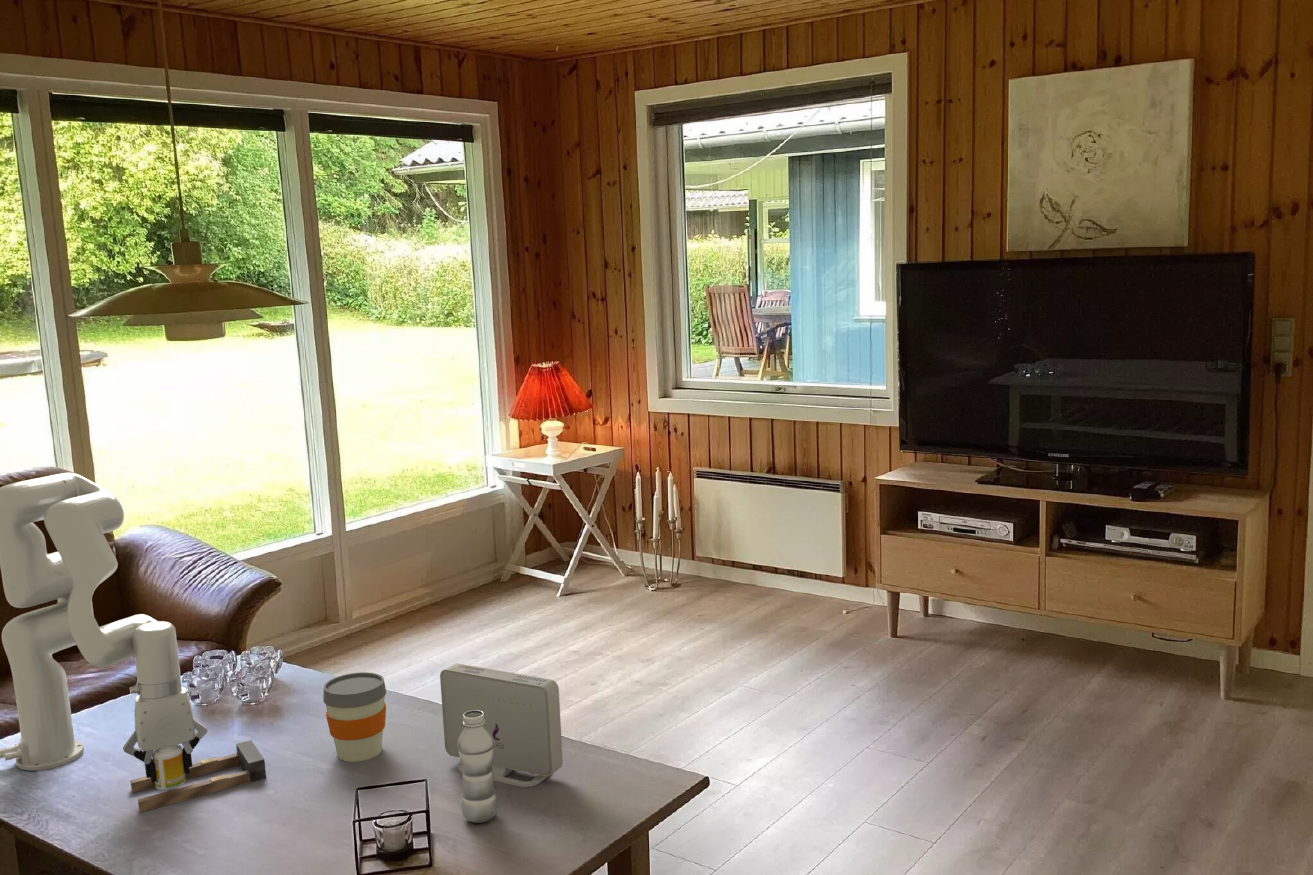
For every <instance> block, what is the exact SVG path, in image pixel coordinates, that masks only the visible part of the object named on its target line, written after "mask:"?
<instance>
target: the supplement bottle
mask: <svg viewBox="0 0 1313 875" xmlns="http://www.w3.org/2000/svg"><path fill="white" fill-rule="evenodd" d="M182 749H183V746H181V744H177V745H173V746H169V747H165V748H160V749H156V750H153V754H152V759H153V762H154V767H155V775H156V781H155V784H156V787H155V788H156V789H157V790H159V791H171V790H175V789H178V788H181V787H182V786H183V785H185V783H186V780H187V779H185V769H184V761H183V751H182Z"/></svg>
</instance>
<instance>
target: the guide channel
mask: <svg viewBox="0 0 1313 875" xmlns="http://www.w3.org/2000/svg"><path fill="white" fill-rule="evenodd" d="M235 745H236V746H235V747H236V753H232V754H229V755H225V756H224V755H223V756H220V757H217V756H214V757H210V758H207V759H202V760H200V762H197V763H194V764H193V763H192V767H189V770H190V774H186V773H185V779H186V780H187V779H191V778H195V777H199V776H203V775H206V774H209V773H211V774H212V773H214V772H218V771H222V770H225V769H229V768H232V767H237V766H240V768H241V769H242V771H240V772H235V773H232V774H222V775H218V776H214V777H210V778H209V780H206V781H201V782H198V783H194V784H191V785H186V786H183V787H182V786H181V787H178V788H175V789H171V790H166V791H165V792H160V793H157V794H153V795H148V796H144V797H142V798H137V805H138V806H137V807H138V810H139V813H142V812H146V811H151V810H154V809H158V808H162V807H164V806H168V805H172V804H176V803H179V802H183V801H187V800H190V799H195V798H198V797H201V796H205V795H209V794H214V793H217V792H220V791H225V790H228V789H231V788H235V787H239V786H243V785H247V784H250V783H254V782H257V781H261V780H265V779H267V773H266V772H267V771H266V763H265V762H266V761H265V758H264V756H263V755H262V754H261V752H260V750H259V749H258V747H257V746H256V745H255V743H254V742H253V741H252V740H251V739H250V740H246V741H243V742H238V743H236V744H235ZM130 788H131V793H132V794H133V793H137V792H142V791H145V790H149V789H154V788H156V784H155V782H154V783H152V781H151V779H150V778H147V777H146V776H142V777H139V778H138V777H137V778H133V779H131V780H130Z"/></svg>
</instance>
